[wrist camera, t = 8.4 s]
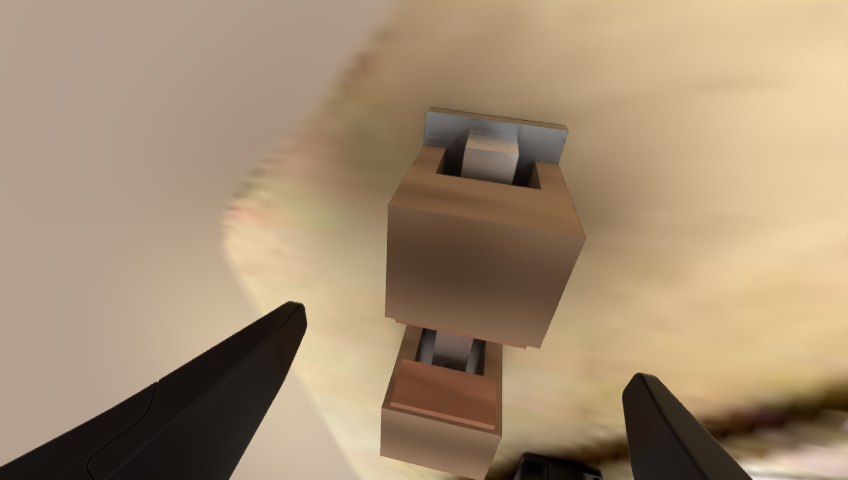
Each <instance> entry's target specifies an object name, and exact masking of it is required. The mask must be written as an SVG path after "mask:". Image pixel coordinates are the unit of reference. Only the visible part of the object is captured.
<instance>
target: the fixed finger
mask: <svg viewBox="0 0 848 480" xmlns="http://www.w3.org/2000/svg"><path fill="white" fill-rule="evenodd" d="M422 334H423V328H422V327H417V326H412V325H407V327H406V331H405V334H404V337H403V340H402V343H401V347H400V350H399V353H398V356H397V360H396V363H395V366H394V369H393V373H392V376H391V379H390V382H389V386H388V389H387V392H386V395H385V399H384V402H383V405H382V411H381V448H380V456H384V457H388V458H392V459H396V460H400V461H404V462H408V463H412V464H416V465H420V466H424V467H428V468H431V469H435V470H439V471H443V472H447V473H451V474H455V475H459V476H463V477H467V478H471V479H475V480H484V479H485V476H486V474H487V471H488V469H489V467H490V464H491V462H492V459H493V457H494V454H495V452H496V450H497V447H498V445H499V442H500V440H501V438H502V344H500V343H495V342H490V341H485V342H484V346H483V350H482V353H481V357H480V361H479V364H478V368H477V371H476V374H471V373H466V372H462V371H457V370H453V369H448V368H443V367H439V366H434V365H430V364H425V363H421V362H419V359H420V351H421V343H422Z"/></svg>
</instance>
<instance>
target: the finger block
mask: <svg viewBox="0 0 848 480" xmlns="http://www.w3.org/2000/svg"><path fill="white" fill-rule="evenodd" d="M445 151H446V148H439V147H432V146H425V145H424V147H423V148H422V150H421V152H420V153H419V155H418V157H417V158H416V160H415V162H414V163H413V165H412V166H411V168H410V170H409V171H408V173H407V175H406V176H405V178H404V180H403V181H402V183H401V185H400V186H399V188H398V190H397V191H396V193H395V195H394V196H393V198H392V200H391V201H390V203H389V204H388V234H387V269H386V304H385V317H389V318H394V319H396V322H398V323H403V324H407V325H412V326H417V327H422V328H427V329H432V330H437V331H441V332H446V333H451V334H456V335H461V336H466V337H471V338H475V339H480V340H485V341H490V342H495V343H500V344H505V345H509V346H514V347H519V348H524V349H526V348H527V346H530V347H535V348H540V347H541V344H542V342H543V339H544V337H545V335H546V332H547V330H548V327H549V325H550V323H551V320H552V318H553V315H554V313H555V311H556V308H557V306H558V303H559V301H560V299H561V296H562V294H563V291H564V289H565V287H566V284H567V282H568V279H569V277H570V275H571V272H572V270H573V267H574V265H575V263H576V260H577V258H578V255H579V253H580V251H581V248H582V246H583V243H584V241H585V239H586V237H585V234H584V232H583V229H582V226H581V224H580V221H579V218H578V216H577V213H576V210H575V208H574V205H573V202H572V200H571V197H570V194H569V192H568V189H567V186H566V184H565V181H564V178H563V176H562V173H561V170H560V168H559V165H555V164H548V163H542V162H535V165H534V168H533V172H532V175H531V179H530V183H529V186H528V188H526V187H519V186H513V185H506V184H500V183H493V182H487V181H481V180H474V179H468V178H461V177H455V176H448V175H443V168H444V160H445Z"/></svg>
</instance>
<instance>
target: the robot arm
mask: <svg viewBox="0 0 848 480" xmlns="http://www.w3.org/2000/svg"><path fill="white" fill-rule="evenodd" d="M306 328H307V319H306V313H305V307H304V305H303V304H302V303H298V302H293V301H289V302H286V303H285V304H283V305H281V306H280V307H278V308H276V309H275V310H273V311H271V312H270V313H268V314H267V315H265V316H263V317H262V318H260V319H258V320H257V321H255V322H254V323H252V324H250V325H248V326H247V327H245V328H243V329H242V330H240V331H239V332H237V333H235V334H234V335H232V336H230V337H229V338H227V339H225V340H224V341H222V342H220V343H219V344H217V345H216V346H214V347H212V348H211V349H209V350H207V351H206V352H204V353H202V354H201V355H199V356H198V357H196V358H194V359H193V360H191V361H189V362H188V363H186V364H184V365H183V366H181V367H179V368H178V369H176V370H174V371H173V372H171V373H170V374H168V375H166V376H165V377H163V378H161V379H160V380H159V381H158V382H155V383H153V384H151V385H150V386H148V387H147V388H145V389H143V390H142V391H140V392H138V393H136V394H135V395H133V396H131V397H129V398H128V399H126V400H124V401H123V402H121V403H119V404H118V405H116V406H114V407H112V408H111V409H109V410H107V411H105V412H103V413H101V414H100V415H98V416H96V417H94V418H92V419H91V420H89V421H87V422H85V423H83V424H81V425H79V426H77V427H75V428H74V429H72V430H70V431H68V432H66V433H64V434H62V435H60V436H59V437H57V438H55V439H53V440H51V441H49V442H47V443H45V444H43V445H42V446H39V447H38V448H36V449H34V450H32V451H30V452H28V453H26V454H24V455H22V456H20V457H19V458H17V459H15V460H13V461H11V462H9V463H7V464H5V465H3V466H1V467H0V480H229V479H230V477H231V475H232V473H233V471H234V470H235V468H236V466H237V464H238V463H239V461H240V459H241V457H242V455H243V454H244V452H245V450H246V448H247V447H248V445H249V443H250V441H251V439H252V438H253V436H254V434H255V432H256V431H257V429H258V427H259V425H260V423H261V422H262V420H263V418H264V416H265V414H266V413H267V411H268V409H269V407H270V406H271V404H272V402H273V400H274V398H275V397H276V395H277V393H278V391H279V389H280V388H281V386H282V384H283V382H284V380H285V378H286V376H287V374H288V371H289V369H290V367H291V364H292V362H293V360H294V357H295V355H296V353H297V350H298V348H299V346H300V343H301V341H302V339H303V336H304V334H305V332H306ZM622 401H623V409H624V417H625V425H626V433H627V441H628V450H629V456H630V462H631V467H632V472H633V476H634V480H753V479H752V478H751V477H750V476H749V475H748V474H747V473H746V472H745V471H744V470H743V469H742V468H741V467H740V465H739V464H738V463H737V462H736V461H735V460H734V459H733V458H732V457H731V456H730V455H729V454H728V453H727V452H726V450H725V449H724V448H723V447H722V446H721V445H720V444H719V443H718V442H717V441H716V440H715V439H714V438H713V437H712V436H711V434H710V433H709V432H708V431H707V430H706V429H705V428H704V427H703V426H702V425H701V424H700V423H699V422H698V421H697V419H696V418H695V417H694V416H693V415H692V414H691V413H690V412H689V411H688V410H687V409H686V408H685V407H684V406H683V405H682V403H681V402H680V401H679V400H678V399H677V398H676V397H675V396H674V395H673V394H672V393H671V392H670V391H669V390H668V388H667V387H666V386H665V385H664V384H663V383H662V382H661V381H660V380H659V379H658V378H657V377H655V376H653V375H650V374H645V373H636V374H635V375H634V376H633V378H632V379H631V380H630V382H629V383H628V385H627V386H626V388H625V389H624V391H623V395H622ZM511 480H603V477H602V473H600V472H598V471H595V470H590V469H586V468H582V467H578V466H574V465H570V464H565V463H561V462H557V461H553V460H549V459H545V458H540V457H536V456H532V455H524V456H523V457H522V459H521V461H520V463H519V465H518V467H517V469H516V471H515V473H514V474H513V476H512V478H511Z"/></svg>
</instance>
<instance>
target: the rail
mask: <svg viewBox="0 0 848 480" xmlns="http://www.w3.org/2000/svg"><path fill="white" fill-rule="evenodd" d="M567 134H568V130H567V128H566V126H562V125H555V124H548V123H540V122H533V121H525V120H518V119H510V118H503V117H495V116H488V115H480V114H473V113H465V112H458V111H451V110H443V109H436V108H429V109H428V110H427V111H426V121H425V133H424V144H423V147H424V145H425V146H432V147H439V148H446V151H445V160H444V168H443V175H448V176H455V177H461V178H468V179H474V180H481V181H487V182H493V183H500V184H506V185H513V186H519V187H526V188H528V186H529V183H530V179H531V175H532V172H533V168H534V165H535V162H542V163H548V164H555V165H558V162H559V159H560V156H561V153H562V149H563V146H564V143H565V140H566V137H567ZM484 342H485V340H480V339H475V338H471V337H466V336H461V335H456V334H451V333H446V332H441V331H437V330H432V329H427V328H423V334H422V343H421V351H420V359H419V362H421V363H425V364H430V365H434V366H439V367H443V368H448V369H453V370H457V371H462V372H466V373H471V374H476V371H477V368H478V364H479V361H480V357H481V353H482V350H483V346H484Z"/></svg>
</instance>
